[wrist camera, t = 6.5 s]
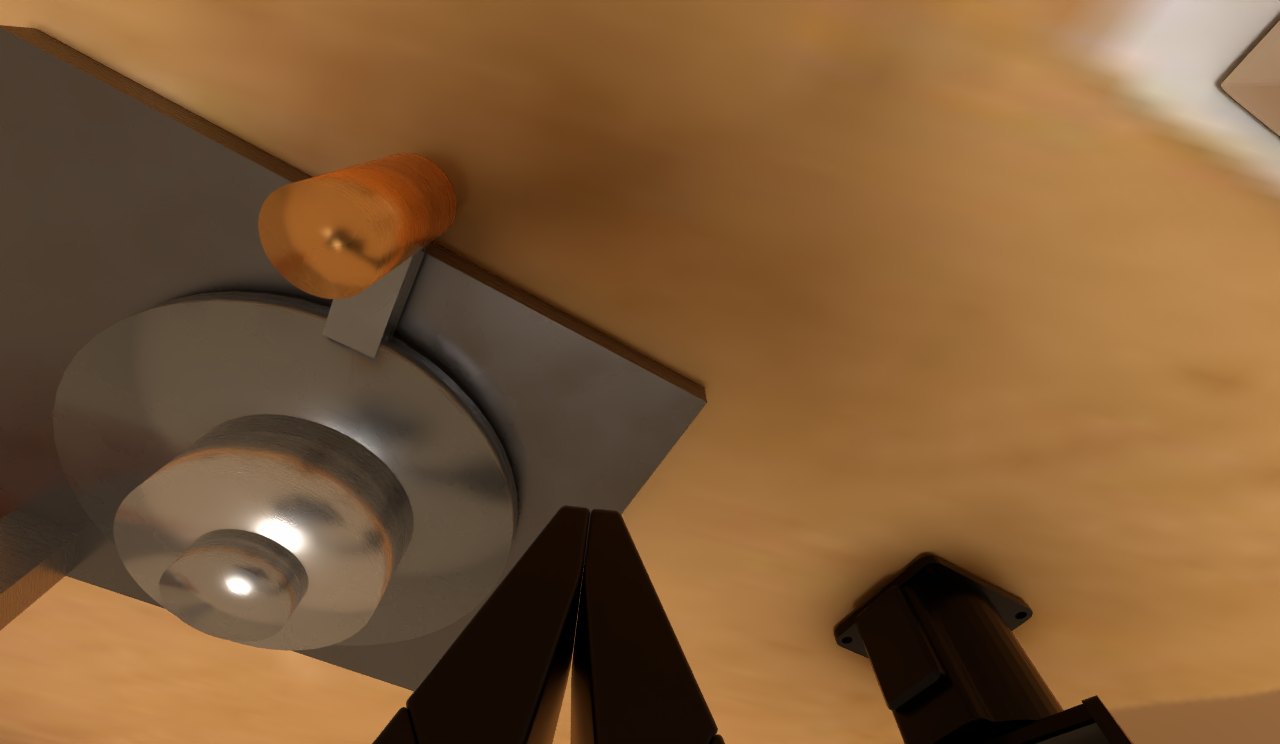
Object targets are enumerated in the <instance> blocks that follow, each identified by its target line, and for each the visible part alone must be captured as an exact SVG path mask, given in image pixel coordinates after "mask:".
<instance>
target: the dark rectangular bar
mask: <svg viewBox="0 0 1280 744" xmlns="http://www.w3.org/2000/svg"><path fill="white" fill-rule="evenodd" d="M78 539H79V533H78V532H76V531H73V530H70V529H67V528H64V527H61V526H59V525H56V524H53V523H50V522H47V521H44V520H41V519H39V518H36V517H33V516H30V515H27V514H24V513H21V512H19V511H16V510H14V511H12V512H11V513H9V514H8V515H6V516H5V517H3V518H2V519H0V630H1V629H3V628H4V627H5V626H6V625H7V624H9V623H10V622H11V621H12V620H13V619H15V618H16V617H17V616H18V615H19V614H20V613H22V612H23V611H24V610H25V609H26V608H28V607H29V606H30V605H31V604H32V603H34V602H35V601H36V600H37V599H38V598H40V597H41V596H42V595H43V594H44V593H45V592H47V591H48V590H49V589H50V588H51V587H53V586H54V585H55V584H56V583H57V582H59V581H60V580H61V579H62V578H63V577H65V576H66V575H67V574H68V573H69V572H70V571H72V570H73V569H74V568H75V565H76V557H77V548H78Z"/></svg>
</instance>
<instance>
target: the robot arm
mask: <svg viewBox="0 0 1280 744" xmlns="http://www.w3.org/2000/svg"><path fill="white" fill-rule="evenodd" d="M589 520H590V522H589ZM588 528H589V530H588ZM587 536H588V538H587ZM586 544H587V546H586ZM585 552H586V554H585ZM584 560H585V562H584ZM583 568H584V570H583ZM582 576H583V578H582ZM581 584H582V586H581ZM580 592H581V594H580ZM579 600H580V602H579ZM578 607H579V610H578ZM1032 614H1033V612H1032V610H1031V609H1030V607H1029V606H1028V605H1027V603H1026V602H1024V601H1022V600H1020V599H1018V598H1017V597H1015V596H1013V595H1011V594H1009V593H1007V592H1005V591H1003V590H1001V589H999V588H997V587H995V586H993V585H991V584H989V583H987V582H985V581H983V580H981V579H979V578H977V577H975V576H974V575H972V574H970V573H968V572H966V571H964V570H962V569H960V568H958V567H956V566H954V565H952V564H950V563H948V562H946V561H944V560H942V559H940V558H938V557H936V556H933V555H929V556H925V557H922V558H921V559H919V560H918V561H917V562H916V563H914V564H913V565H912V566H911V567H910V568H908V569H907V570H906V571H905V572H904V573H903V574H901V575H900V576H899V577H898V578H897V579H895V580H894V581H893V582H892V583H891V584H889V585H888V586H887V587H886V588H885V589H883V590H882V591H881V592H880V593H879V594H877V595H876V596H875V597H874V598H873V599H872V600H870V601H869V602H868V603H867V604H866V605H864V606H863V607H862V608H861V609H860V610H858V611H857V612H856V613H855V614H854V615H852V616H851V617H850V618H849V619H848V620H847V621H845V622H844V623H843V624H842V625H841V626H839V627H838V628H837V629H836V630H835V631H834V636H835V639H836V642H837V644H838V645H839V646H841V647H844V648H846V649H848V650H850V651H853V652H855V653H857V654H860V655H862V656H864V657H867V658H869V660H870V663H871V665H872V668H873V670H874V673H875V676H876V678H877V681H878V684H879V686H880V689H881V691H882V694H883V697H884V699H885V702H886V705H887V706H888V708H889V709H890V710H892V712H893V715H894V718H895V720H896V723H897V725H898V728H899V731H900V733H901V736H902V738H903V741H904V744H1134V743H1133V742H1132V741H1131V740H1130V738H1129V737H1128V736H1127V734H1126V733H1125V732H1124V730H1123V729H1122V728H1121V726H1120V725H1119V724H1118V723H1117V721H1116V720H1115V719H1114V717H1113V716H1112V715H1111V713H1110V712H1109V711H1108V709H1107V708H1106V707H1105V705H1104V704H1103V703H1102V702H1101V700H1100V699H1099V698H1098V696H1097V695H1096V696H1093V697H1091V698H1088V699H1085V700H1082V703H1083V704H1081V705H1078V706H1075V707H1073V708H1070V709H1067V710H1063V709H1062V707H1061V706H1060V704H1059V703H1058V701H1057V700H1056V698H1055V697H1054V695H1053V694H1052V692H1051V691H1050V689H1049V688H1048V686H1047V685H1046V683H1045V682H1044V680H1043V679H1042V677H1041V676H1040V674H1039V673H1038V671H1037V669H1036V668H1035V666H1034V665H1033V663H1032V662H1031V660H1030V659H1029V657H1028V656H1027V654H1026V653H1025V651H1024V650H1023V648H1022V647H1021V645H1020V644H1019V642H1018V641H1017V639H1016V638H1015V636H1014V635H1013V633H1012V632H1011V631H1012V630H1014V629H1015V628H1017V627H1018V626H1020V625H1021V624H1023V623H1024V622H1025V621H1027V620H1028V619H1029V618H1031V617H1032ZM577 615H578V618H577ZM576 623H577V626H576ZM575 631H576V634H575ZM574 639H575V642H574ZM573 647H574V651H573ZM572 654H573V661H572V678H571V744H725V743H724V740H723V738H722V736H721V735H716V734H717V731H718V728H717V726H716V723H715V721H714V719H713V717H712V715H711V712H710V710H709V708H708V706H707V704H706V701H705V699H704V697H703V695H702V693H701V690H700V688H699V686H698V684H697V681H696V679H695V677H694V675H693V673H692V670H691V668H690V666H689V664H688V662H687V659H686V657H685V655H684V653H683V651H682V648H681V646H680V644H679V642H678V639H677V637H676V635H675V633H674V631H673V628H672V626H671V624H670V622H669V620H668V617H667V615H666V613H665V611H664V609H663V606H662V604H661V602H660V600H659V597H658V595H657V593H656V591H655V589H654V586H653V584H652V582H651V580H650V578H649V575H648V573H647V571H646V569H645V567H644V564H643V562H642V560H641V558H640V555H639V553H638V551H637V549H636V547H635V544H634V542H633V540H632V538H631V536H630V533H629V531H628V529H627V527H626V525H625V522H624V520H623V518H622V516H621V514H620V513H619V512H618V511H615V510H607V509H598V508H595V509H593V510H592V511H591V515H590V510H589V509H588V508H587V507H579V506H570V505H564V506H562V507H561V508H560V509H559V510H558V511H557V513H556V514H555V515H554V516H553V518H552V519H551V520H550V521H549V523H548V524H547V525H546V527H545V528H544V529H543V530H542V532H541V533H540V534H539V535H538V537H537V538H536V539H535V540H534V542H533V543H532V544H531V545H530V547H529V548H528V549H527V550H526V552H525V553H524V554H523V555H522V557H521V558H520V559H519V560H518V562H517V563H516V564H515V565H514V567H513V568H512V569H511V571H510V572H509V573H508V574H507V576H506V577H505V578H504V579H503V581H502V582H501V583H500V584H499V586H498V587H497V588H496V589H495V591H494V592H493V593H492V594H491V596H490V597H489V598H488V599H487V601H486V602H485V603H484V604H483V606H482V607H481V608H480V609H479V611H478V612H477V613H476V614H475V616H474V617H473V618H472V620H471V621H470V622H469V623H468V625H467V626H466V627H465V628H464V630H463V631H462V632H461V633H460V635H459V636H458V637H457V638H456V640H455V641H454V642H453V643H452V645H451V646H450V647H449V648H448V650H447V651H446V652H445V653H444V655H443V656H442V657H441V658H440V660H439V661H438V662H437V664H436V665H435V666H434V667H433V669H432V670H431V671H430V672H429V674H428V675H427V676H426V677H425V679H424V680H423V681H422V682H421V684H420V685H419V686H418V687H417V689H416V690H415V691H414V692H413V694H412V695H411V696H410V697H409V699H408V700H407V702H406V708H405V707H403V708H401V709H400V710H399V711H398V712H397V713H396V715H395V716H394V717H393V718H392V720H391V721H390V722H389V723H388V725H387V726H386V727H385V728H384V730H383V731H382V732H381V733H380V735H379V736H378V737H377V738H376V740H375V741H374V742H373V743H372V744H552V742H553V738H554V734H555V730H556V726H557V722H558V718H559V714H560V710H561V705H562V701H563V697H564V693H565V689H566V685H567V680H568V676H569V671H570V667H571V660H572Z"/></svg>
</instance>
